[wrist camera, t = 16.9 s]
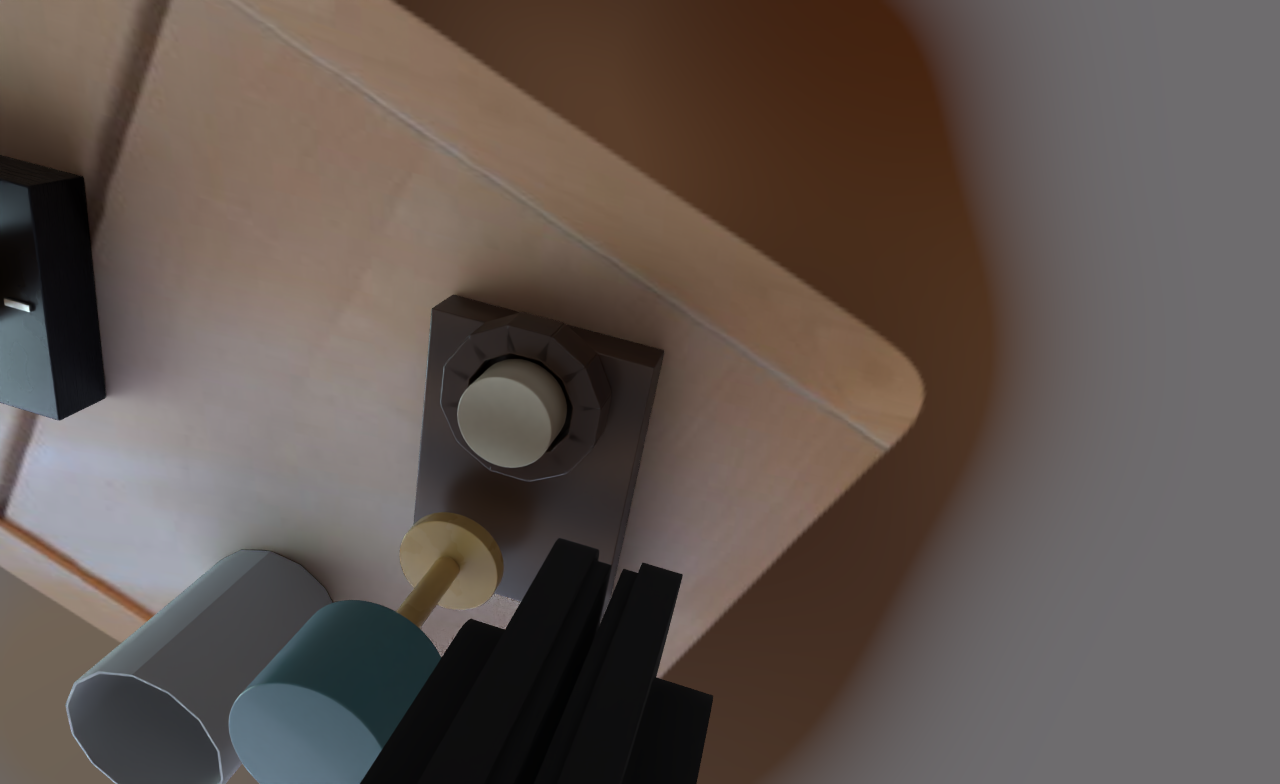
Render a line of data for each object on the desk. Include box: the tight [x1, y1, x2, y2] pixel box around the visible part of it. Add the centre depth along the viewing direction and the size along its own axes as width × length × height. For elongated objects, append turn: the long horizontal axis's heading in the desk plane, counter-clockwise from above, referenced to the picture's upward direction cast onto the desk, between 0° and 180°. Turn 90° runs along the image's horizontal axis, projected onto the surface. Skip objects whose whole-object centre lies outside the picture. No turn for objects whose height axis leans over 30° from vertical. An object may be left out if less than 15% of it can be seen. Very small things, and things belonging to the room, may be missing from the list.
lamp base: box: [414, 295, 664, 625], centre depth 38 cm, size 15×10×4 cm, turn 169°
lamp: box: [229, 512, 504, 784], centre depth 33 cm, size 6×6×12 cm
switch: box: [457, 359, 567, 468], centre depth 34 cm, size 4×4×2 cm
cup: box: [66, 550, 332, 784], centre depth 43 cm, size 8×8×10 cm
